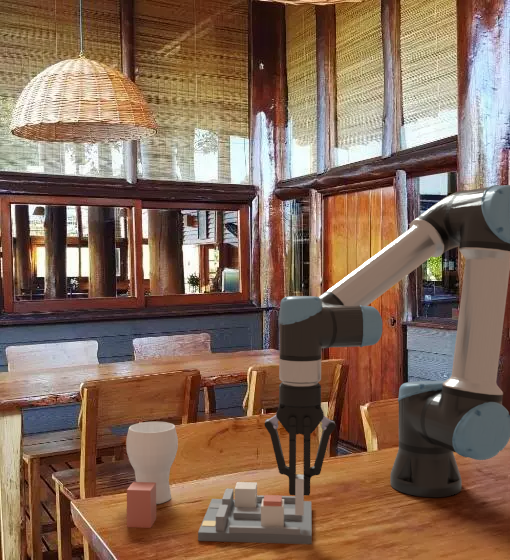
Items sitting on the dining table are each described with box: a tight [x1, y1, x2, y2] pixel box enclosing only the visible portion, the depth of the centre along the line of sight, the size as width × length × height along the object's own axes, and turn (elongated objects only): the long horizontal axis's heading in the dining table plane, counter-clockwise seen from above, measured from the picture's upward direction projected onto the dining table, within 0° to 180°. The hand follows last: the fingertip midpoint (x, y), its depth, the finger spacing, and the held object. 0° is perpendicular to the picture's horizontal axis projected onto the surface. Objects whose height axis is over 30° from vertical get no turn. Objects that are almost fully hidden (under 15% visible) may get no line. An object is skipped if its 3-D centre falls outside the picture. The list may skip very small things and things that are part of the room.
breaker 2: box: [261, 494, 284, 527], centre depth 123 cm, size 4×4×5 cm
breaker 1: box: [234, 481, 258, 508], centre depth 132 cm, size 4×4×4 cm
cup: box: [125, 421, 179, 505], centre depth 141 cm, size 11×11×15 cm
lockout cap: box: [126, 481, 157, 529], centre depth 128 cm, size 4×4×7 cm
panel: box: [197, 488, 313, 545], centre depth 127 cm, size 20×17×4 cm
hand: (299, 512), depth 122 cm, fingers closed
